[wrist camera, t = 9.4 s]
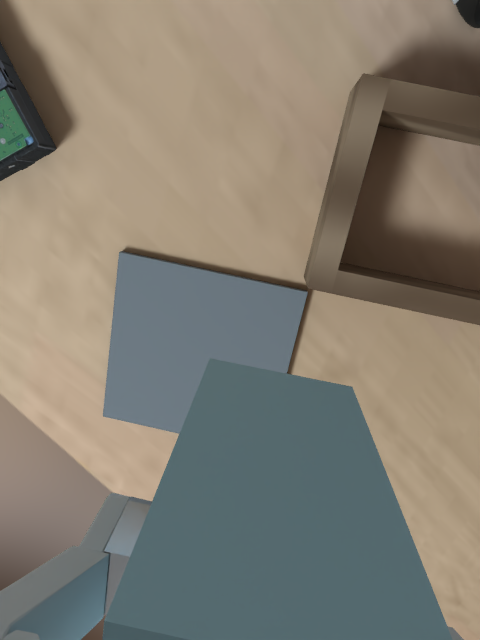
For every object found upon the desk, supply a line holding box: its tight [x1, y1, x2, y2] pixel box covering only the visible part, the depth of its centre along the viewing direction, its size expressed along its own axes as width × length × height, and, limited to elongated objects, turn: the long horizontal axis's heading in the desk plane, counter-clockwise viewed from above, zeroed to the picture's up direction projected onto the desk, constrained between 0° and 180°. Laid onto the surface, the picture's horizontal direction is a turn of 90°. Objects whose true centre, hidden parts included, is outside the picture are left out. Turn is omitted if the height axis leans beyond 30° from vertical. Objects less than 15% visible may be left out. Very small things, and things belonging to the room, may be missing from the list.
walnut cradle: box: [304, 74, 480, 325], centre depth 25 cm, size 12×14×4 cm
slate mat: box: [103, 251, 308, 434], centre depth 31 cm, size 14×14×1 cm
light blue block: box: [103, 358, 452, 640], centre depth 9 cm, size 6×4×8 cm
